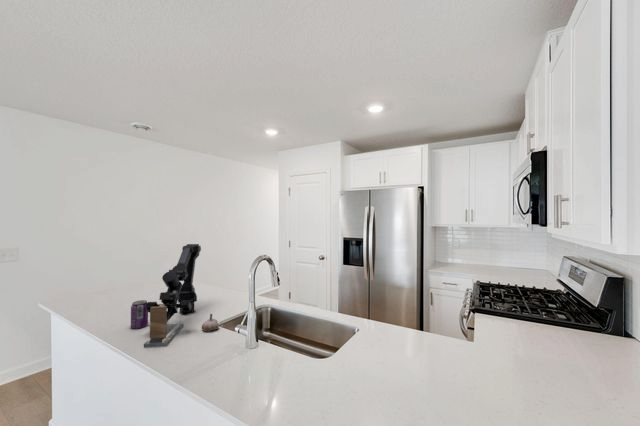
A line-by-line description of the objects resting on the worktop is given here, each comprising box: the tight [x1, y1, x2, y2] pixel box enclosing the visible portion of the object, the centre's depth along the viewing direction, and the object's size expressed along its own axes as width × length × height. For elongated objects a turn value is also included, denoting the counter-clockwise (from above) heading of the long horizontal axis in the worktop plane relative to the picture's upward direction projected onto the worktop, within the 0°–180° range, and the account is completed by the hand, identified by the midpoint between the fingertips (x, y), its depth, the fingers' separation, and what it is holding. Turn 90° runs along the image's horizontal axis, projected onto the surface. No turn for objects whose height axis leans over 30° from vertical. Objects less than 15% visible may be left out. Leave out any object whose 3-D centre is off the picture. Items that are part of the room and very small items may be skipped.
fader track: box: [143, 321, 185, 348], centre depth 123 cm, size 20×9×2 cm, turn 9°
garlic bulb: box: [201, 312, 220, 332], centre depth 130 cm, size 8×7×8 cm
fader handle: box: [149, 306, 168, 343], centre depth 115 cm, size 4×6×14 cm, turn 99°
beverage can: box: [130, 299, 149, 329], centre depth 133 cm, size 7×7×12 cm
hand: (163, 324), depth 121 cm, fingers closed
